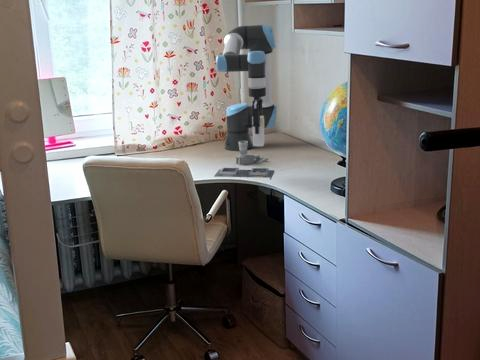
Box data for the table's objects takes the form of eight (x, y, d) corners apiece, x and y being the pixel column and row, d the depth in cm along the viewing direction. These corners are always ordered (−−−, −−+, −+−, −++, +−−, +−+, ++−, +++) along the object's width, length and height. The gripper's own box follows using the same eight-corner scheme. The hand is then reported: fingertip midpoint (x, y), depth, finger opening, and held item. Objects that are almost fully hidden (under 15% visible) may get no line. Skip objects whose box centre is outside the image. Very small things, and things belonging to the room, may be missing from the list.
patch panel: (219, 171, 300) (219, 166, 299) (274, 172, 295) (274, 167, 294) (213, 178, 289) (213, 173, 288) (270, 179, 284) (270, 174, 283)
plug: (254, 144, 289) (253, 115, 285) (265, 144, 288) (264, 115, 284) (252, 146, 285) (252, 117, 281) (263, 146, 284) (262, 117, 280)
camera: (232, 140, 308) (258, 136, 315) (233, 164, 311) (258, 160, 319) (242, 144, 301) (268, 139, 308) (242, 168, 304) (268, 163, 312)
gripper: (252, 84, 288) (253, 135, 295) (245, 90, 272) (246, 143, 278) (268, 84, 287) (269, 135, 293) (262, 90, 270) (263, 143, 277)
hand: (258, 139), depth 286 cm, fingers closed on plug, 4 cm apart
